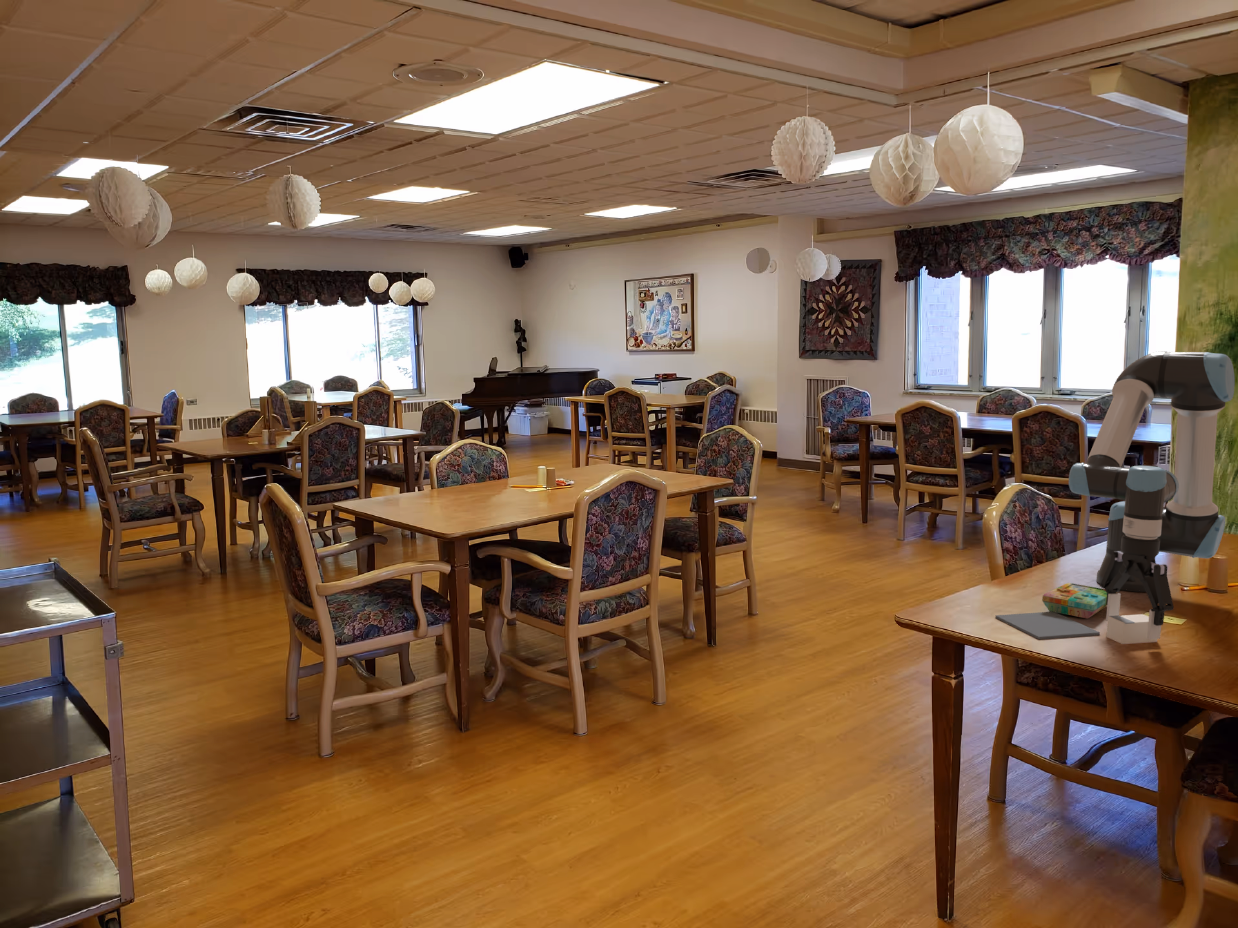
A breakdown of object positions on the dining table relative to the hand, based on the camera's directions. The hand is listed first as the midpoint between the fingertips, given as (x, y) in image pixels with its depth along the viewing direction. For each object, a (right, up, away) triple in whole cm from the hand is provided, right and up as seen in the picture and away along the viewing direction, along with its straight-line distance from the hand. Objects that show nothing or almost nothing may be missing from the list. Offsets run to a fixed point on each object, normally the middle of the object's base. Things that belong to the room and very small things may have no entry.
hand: (1132, 629), depth 212 cm
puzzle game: (-1, +1, +22) cm, 22 cm away
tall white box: (0, -2, 0) cm, 2 cm away
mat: (-15, -1, +9) cm, 18 cm away
